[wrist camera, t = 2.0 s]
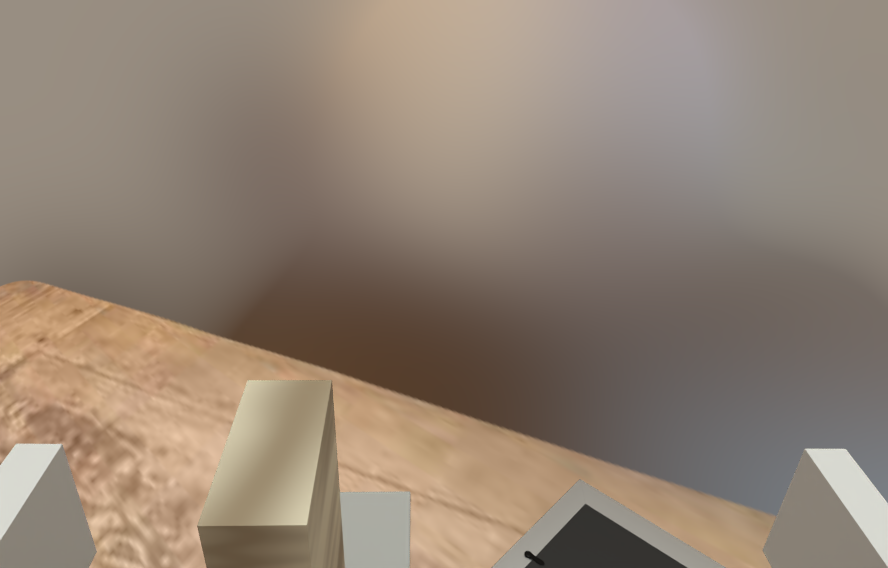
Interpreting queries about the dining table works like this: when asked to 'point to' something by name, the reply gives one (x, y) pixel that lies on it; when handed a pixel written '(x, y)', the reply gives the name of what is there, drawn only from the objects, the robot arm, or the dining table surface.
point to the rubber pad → (376, 529)
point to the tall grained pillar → (277, 482)
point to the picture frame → (599, 538)
